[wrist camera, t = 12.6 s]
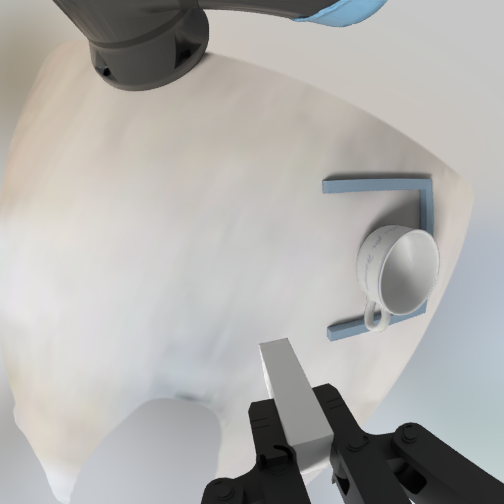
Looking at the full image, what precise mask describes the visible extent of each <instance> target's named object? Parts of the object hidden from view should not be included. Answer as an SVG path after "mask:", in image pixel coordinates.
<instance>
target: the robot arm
mask: <svg viewBox="0 0 504 504" xmlns="http://www.w3.org/2000/svg"><path fill="white" fill-rule="evenodd" d="M53 1H54V2H55V3H56V4H57V6H58V7H59V8H60V9H61V10H62V11H63V12H64V13H65V14H66V15H67V16H68V18H69V19H70V20H71V21H72V22H73V23H74V24H75V25H76V26H77V27H78V28H79V29H80V31H81V32H82V33H83V34H84V35H85V36H86V37H87V38H88V40H89V46H90V53H91V59H92V63H93V66H94V68H95V70H96V72H97V73H98V74H99V75H100V76H101V77H102V78H103V79H104V80H105V81H106V82H107V83H108V84H110V85H111V86H113V87H115V88H118V89H121V90H127V91H144V90H150V89H154V88H158V87H161V86H164V85H166V84H168V83H170V82H173V81H174V80H176V79H178V78H180V77H181V76H183V75H184V74H185V73H187V72H188V71H189V70H190V69H192V68H193V67H194V66H195V65H196V63H197V62H198V61H199V60H200V59H201V57H202V56H203V54H204V52H205V50H206V48H207V45H208V41H209V23H208V19H207V16H206V14H205V12H204V11H203V9H214V10H234V11H245V12H255V13H261V14H268V15H275V16H280V17H285V18H289V19H291V20H293V21H298V22H306V21H309V22H314V23H318V24H323V25H327V26H332V27H346V26H349V25H352V24H356V23H359V22H361V21H363V20H365V19H367V18H368V17H370V16H371V15H373V14H374V13H375V12H376V11H378V10H379V9H380V8H381V7H382V6H383V5H384V4H385V3H386V1H387V0H53ZM259 347H260V353H261V359H262V365H263V371H264V377H265V382H266V386H267V389H268V393H269V396H270V399H267V400H263V401H258V402H252V403H251V405H250V408H249V411H248V414H249V419H250V424H251V429H252V434H253V439H254V445H255V450H256V454H257V455H256V464H255V466H254V467H253V469H252V470H250V471H249V472H248V473H246V474H244V475H242V476H239V477H237V478H235V479H231V478H218V479H215V480H212V481H211V482H210V483H209V484H207V486H206V488H205V490H204V494H203V497H202V501H201V504H311V502H310V499H309V496H308V493H307V491H306V488H305V485H304V482H303V479H302V476H301V475H302V474H306V473H310V472H313V471H317V470H320V469H323V468H327V467H329V465H330V463H331V465H332V467H333V476H332V484H333V483H335V482H336V484H337V486H338V488H339V491H340V493H341V496H342V498H343V500H344V503H345V504H412V503H411V501H410V500H409V498H410V499H411V500H412V501H413V502H414V503H415V504H504V484H503V483H502V482H500V481H499V480H497V479H496V478H494V477H493V476H491V475H490V474H488V473H487V472H485V471H484V470H483V469H481V468H479V467H478V466H477V465H475V464H474V463H472V462H471V461H470V460H468V459H467V458H465V457H464V456H462V455H461V454H459V453H458V452H457V451H455V450H454V449H452V448H451V447H450V446H448V445H447V444H446V443H444V442H443V441H441V440H440V439H439V438H437V437H436V436H435V435H433V434H432V433H431V432H429V431H428V430H426V429H425V428H424V427H422V426H421V425H419V424H417V423H411V422H410V423H405V424H403V425H401V426H399V427H398V428H397V429H396V431H395V432H393V433H388V434H381V435H373V434H369V433H366V432H364V431H363V430H362V429H361V428H360V427H359V425H358V424H357V422H356V420H355V419H354V417H353V415H352V413H351V412H350V410H349V408H348V407H347V405H346V404H345V402H344V400H343V398H342V397H341V395H340V393H339V392H338V390H337V389H336V388H335V387H333V386H332V385H330V384H329V383H328V384H324V385H321V386H317V387H314V388H311V386H310V384H309V382H308V380H307V378H306V375H305V373H304V371H303V369H302V367H301V365H300V363H299V361H298V359H297V357H296V355H295V353H294V351H293V349H292V346H291V344H290V342H289V340H288V338H285V339H280V340H276V341H271V342H266V343H261V344H259Z"/></svg>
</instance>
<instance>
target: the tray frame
mask: <svg viewBox="0 0 504 504" xmlns="http://www.w3.org/2000/svg"><path fill="white" fill-rule="evenodd" d="M322 186H323V193H342V192H359V191H380V190H412V189H420V229H422V230H424V231H426V232H428V233H429V234H431V236H432V237H433V189H432V179H357V180H333V181H322ZM426 305H427V300H426V301H425V302H424V303H423V304H422V305H421V306H420V307H419V308H418V309H417V310H415V311H413V312H412V313H410V314H407V315H394V314H391V320H390V323H389V325H391V324H394V323H397V322H400V321H403V320H406V319H409V318H412V317H414V316H417V315H420V314H423V313H425V311H426ZM381 315H382V314H378V315H375V316H373V320H374V324H375V325H376V324H378V322H379V321H380V319H381ZM368 331H370V330H368V329H367V327H366V325H365V321H364V319H360V320H356V321H352V322H348V323H344V324H340V325H336V326H332V327H327V337H328V338H329V339H330V341H335V340H339V339H343V338H346V337H350V336H354V335H357V334H361V333H364V332H368Z"/></svg>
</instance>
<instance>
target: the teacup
mask: <svg viewBox="0 0 504 504" xmlns="http://www.w3.org/2000/svg"><path fill="white" fill-rule="evenodd" d="M439 267H440V255H439V250H438V247H437V244H436V242H435V240H434V238H433V237H432V236H431V234H429V233H428V232H426V231H424V230H422V229H413V228H409V227H404V226H398V225H388V226H383V227H380V228H378V229H377V230H375V231H374V232H372V233H371V234H370V235H369V236H368V237H367V238H366V240H365V241H364V243H363V244H362V246H361V248H360V251H359V253H358V257H357V262H356V275H357V279H358V282H359V285H360V287H361V288H362V290H363V291H364V292H365V293H366V294H367V295H366V300H367V303H366V308H365V315H364V321H365V325H366V327H367V329H368V330H370V331H371V332H375V333H378V332H382V331H384V330H385V329H386V328H387V327H388V325H389V323H390V320H391V314H394V315H407V314H410V313H412V312H413V311H415V310H417V309H418V308H419V307H420V306H421V305H422V304H423V303H424V302H425V301H426V300H427V298H428V297H429V295H430V294H431V292H432V290H433V288H434V286H435V284H436V281H437V277H438V273H439ZM376 303H378V304H379V308H380V310H381V314H382V315H381V319H380V321H379V322H378V324H376V325H375V324H374V320H373V316H374V309H375V304H376Z"/></svg>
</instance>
